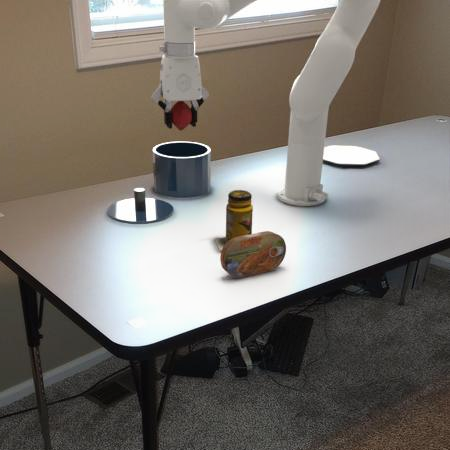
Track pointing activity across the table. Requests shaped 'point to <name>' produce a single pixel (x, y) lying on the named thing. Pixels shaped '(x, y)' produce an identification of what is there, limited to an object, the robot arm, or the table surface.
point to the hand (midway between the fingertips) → (181, 125)
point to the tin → (253, 254)
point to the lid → (140, 209)
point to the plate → (349, 155)
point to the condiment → (237, 216)
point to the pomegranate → (181, 115)
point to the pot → (182, 169)
